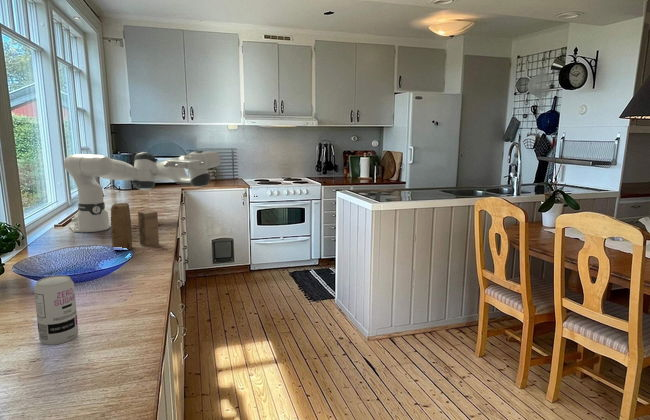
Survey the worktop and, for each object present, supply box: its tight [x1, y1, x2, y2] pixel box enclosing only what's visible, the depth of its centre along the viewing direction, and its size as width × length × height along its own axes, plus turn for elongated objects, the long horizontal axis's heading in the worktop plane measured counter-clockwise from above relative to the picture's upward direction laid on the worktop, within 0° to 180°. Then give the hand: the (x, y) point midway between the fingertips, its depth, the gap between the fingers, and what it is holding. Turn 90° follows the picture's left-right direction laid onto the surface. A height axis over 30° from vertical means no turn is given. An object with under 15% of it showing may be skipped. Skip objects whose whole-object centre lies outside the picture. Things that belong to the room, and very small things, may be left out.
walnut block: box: [137, 209, 160, 247], centre depth 193 cm, size 6×6×15 cm
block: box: [110, 202, 133, 250], centre depth 183 cm, size 11×8×20 cm
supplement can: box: [33, 275, 79, 346], centre depth 103 cm, size 8×8×15 cm
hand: (170, 165), depth 203 cm, fingers open, 8 cm apart
